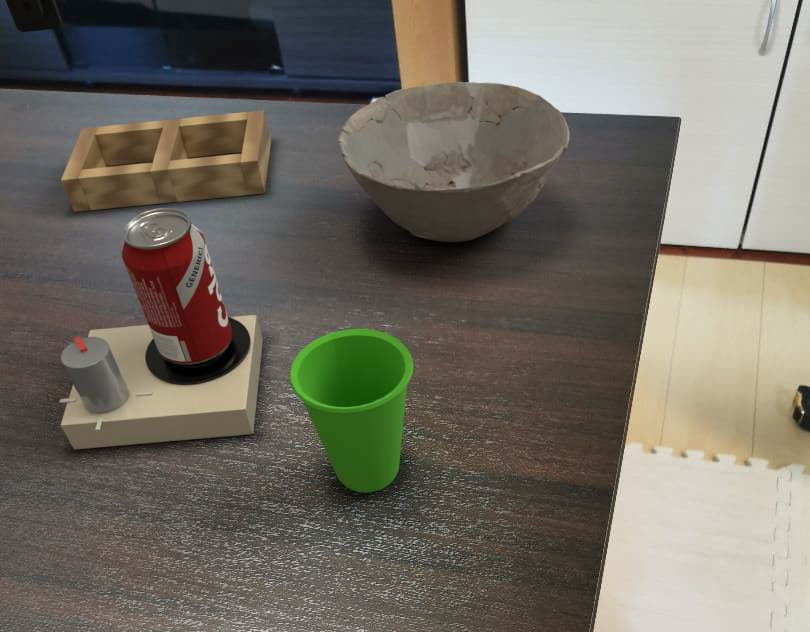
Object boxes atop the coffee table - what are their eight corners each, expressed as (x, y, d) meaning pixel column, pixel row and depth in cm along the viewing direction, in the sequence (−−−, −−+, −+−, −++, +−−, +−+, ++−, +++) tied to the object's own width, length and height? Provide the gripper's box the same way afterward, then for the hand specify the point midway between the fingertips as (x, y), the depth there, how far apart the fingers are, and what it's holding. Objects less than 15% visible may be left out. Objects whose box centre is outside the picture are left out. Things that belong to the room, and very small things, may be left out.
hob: (64, 459, 73) (49, 433, 71) (95, 355, 82) (82, 328, 79) (252, 443, 73) (244, 416, 70) (263, 339, 81) (256, 312, 79)
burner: (138, 389, 74) (137, 387, 73) (154, 321, 80) (153, 319, 79) (246, 380, 73) (245, 377, 73) (254, 312, 79) (253, 309, 79)
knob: (135, 400, 73) (114, 352, 68) (91, 419, 72) (67, 371, 67) (120, 376, 75) (98, 327, 71) (77, 394, 74) (53, 345, 70)
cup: (336, 527, 66) (313, 426, 57) (299, 454, 71) (273, 351, 63) (440, 488, 68) (433, 383, 59) (396, 419, 73) (383, 314, 64)
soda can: (185, 381, 73) (140, 261, 64) (146, 347, 77) (98, 228, 67) (248, 345, 76) (214, 224, 66) (208, 314, 79) (170, 194, 70)
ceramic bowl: (571, 276, 84) (579, 181, 76) (342, 287, 86) (327, 195, 78) (554, 163, 97) (559, 72, 89) (357, 175, 99) (346, 87, 91)
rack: (74, 212, 99) (60, 179, 96) (94, 159, 107) (82, 128, 104) (264, 193, 98) (257, 160, 95) (271, 142, 106) (264, 109, 103)
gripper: (-77, -334, 55) (34, -34, 69) (-181, -290, 44) (-25, 56, 58) (35, -348, 55) (124, -43, 68) (-42, -306, 44) (82, 45, 57)
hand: (56, 2), depth 63 cm, fingers open, 9 cm apart
